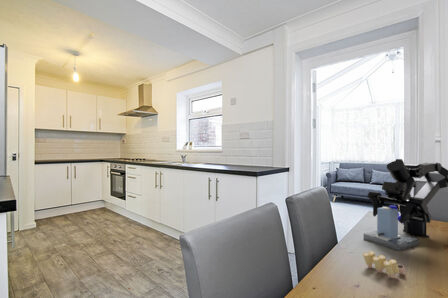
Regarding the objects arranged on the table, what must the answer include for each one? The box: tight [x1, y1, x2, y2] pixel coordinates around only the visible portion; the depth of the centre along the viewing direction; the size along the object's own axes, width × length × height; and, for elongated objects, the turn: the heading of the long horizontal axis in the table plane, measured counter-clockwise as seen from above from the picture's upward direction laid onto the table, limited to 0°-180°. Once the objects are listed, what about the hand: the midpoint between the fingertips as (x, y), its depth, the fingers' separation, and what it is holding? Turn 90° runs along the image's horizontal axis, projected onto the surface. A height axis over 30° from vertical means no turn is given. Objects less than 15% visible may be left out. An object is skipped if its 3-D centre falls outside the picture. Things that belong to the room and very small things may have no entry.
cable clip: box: [388, 205, 404, 224], centre depth 115 cm, size 12×4×6 cm, turn 172°
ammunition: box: [362, 250, 406, 279], centre depth 64 cm, size 5×7×8 cm
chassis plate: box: [363, 230, 420, 252], centre depth 86 cm, size 14×12×2 cm
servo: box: [374, 206, 401, 241], centre depth 85 cm, size 10×4×13 cm, turn 116°
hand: (386, 218), depth 85 cm, fingers open, 9 cm apart
